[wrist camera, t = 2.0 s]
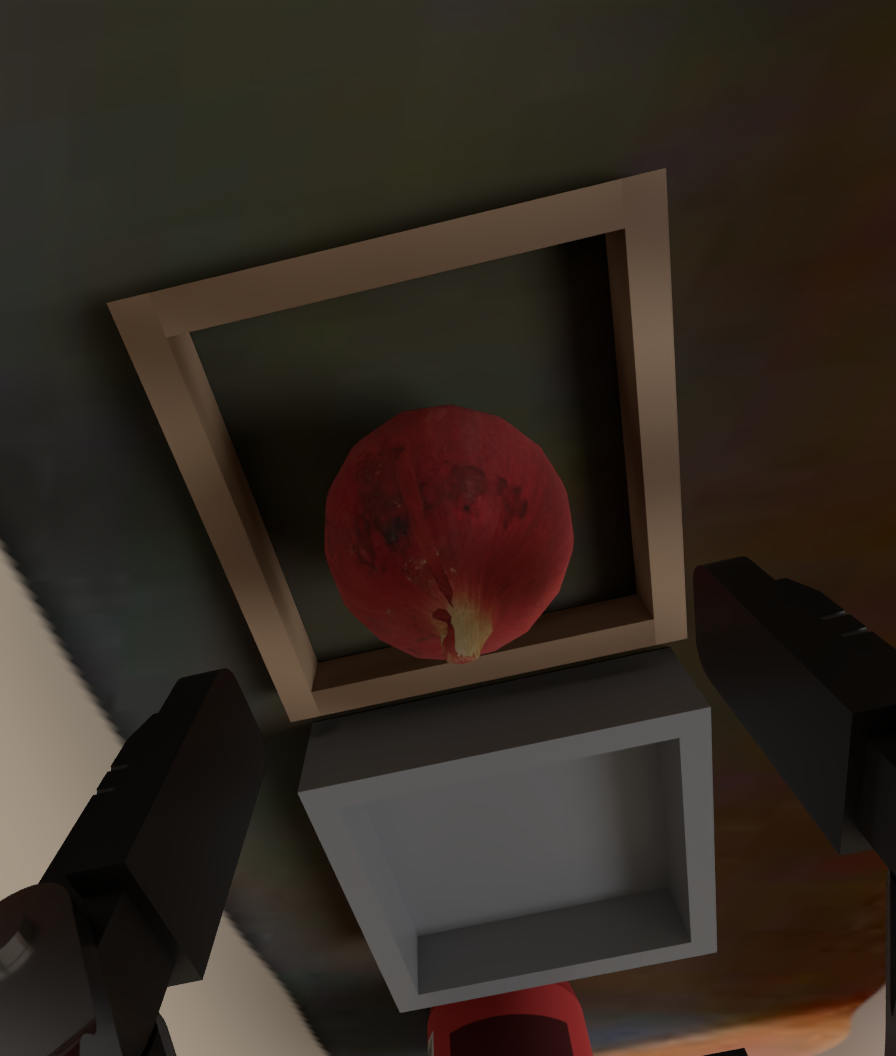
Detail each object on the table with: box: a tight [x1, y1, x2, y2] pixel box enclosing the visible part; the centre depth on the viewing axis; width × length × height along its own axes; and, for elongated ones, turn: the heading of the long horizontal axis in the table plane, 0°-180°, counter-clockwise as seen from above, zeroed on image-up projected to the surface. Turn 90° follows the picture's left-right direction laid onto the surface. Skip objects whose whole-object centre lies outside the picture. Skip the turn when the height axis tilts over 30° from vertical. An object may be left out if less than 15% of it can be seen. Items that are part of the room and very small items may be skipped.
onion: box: [325, 404, 574, 664], centre depth 13 cm, size 6×6×8 cm
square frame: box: [107, 168, 687, 722], centre depth 16 cm, size 13×13×2 cm
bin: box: [297, 647, 717, 1013], centre depth 22 cm, size 13×13×3 cm
